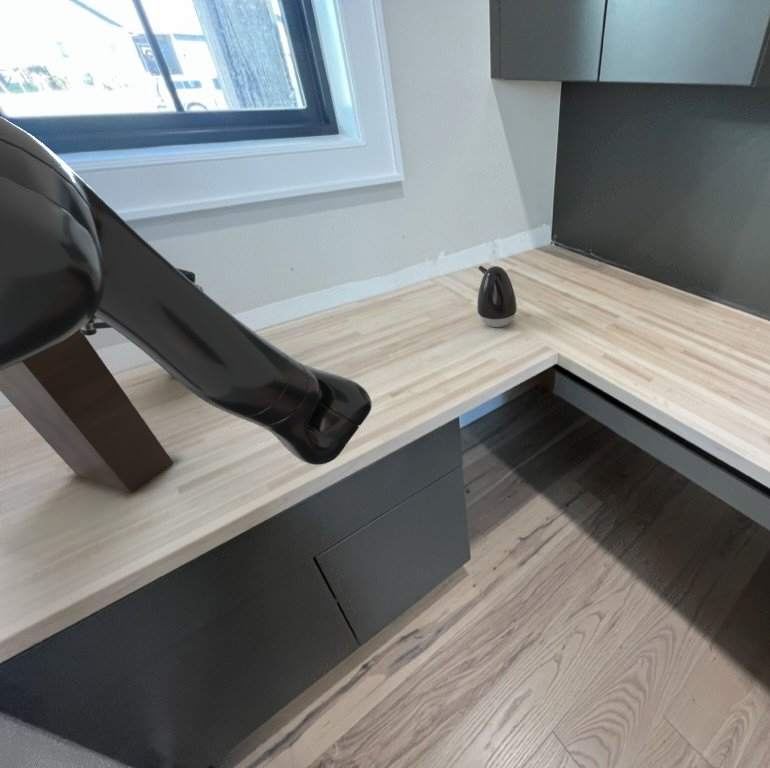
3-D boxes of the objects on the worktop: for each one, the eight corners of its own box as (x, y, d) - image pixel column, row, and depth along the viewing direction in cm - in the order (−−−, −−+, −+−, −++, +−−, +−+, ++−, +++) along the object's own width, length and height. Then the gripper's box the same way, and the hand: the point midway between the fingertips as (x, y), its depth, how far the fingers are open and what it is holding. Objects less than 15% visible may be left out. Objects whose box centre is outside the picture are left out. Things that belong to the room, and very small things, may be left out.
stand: (68, 479, 68) (-89, 311, 51) (124, 442, 75) (3, 284, 58) (127, 499, 65) (-20, 326, 47) (181, 459, 72) (70, 295, 54)
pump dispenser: (495, 310, 117) (492, 256, 108) (524, 320, 111) (524, 264, 102) (469, 324, 110) (464, 268, 101) (500, 335, 105) (497, 277, 96)
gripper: (254, 292, 51) (129, 211, 50) (141, 347, 40) (-20, 245, 39) (251, 335, 56) (137, 262, 55) (149, 394, 45) (6, 304, 44)
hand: (72, 255), depth 47 cm, fingers closed
